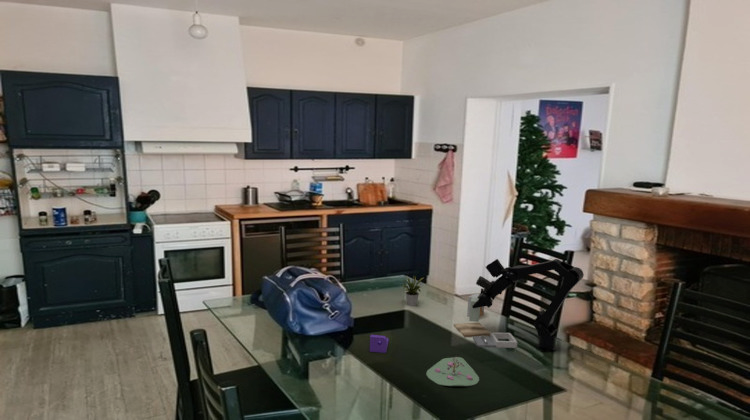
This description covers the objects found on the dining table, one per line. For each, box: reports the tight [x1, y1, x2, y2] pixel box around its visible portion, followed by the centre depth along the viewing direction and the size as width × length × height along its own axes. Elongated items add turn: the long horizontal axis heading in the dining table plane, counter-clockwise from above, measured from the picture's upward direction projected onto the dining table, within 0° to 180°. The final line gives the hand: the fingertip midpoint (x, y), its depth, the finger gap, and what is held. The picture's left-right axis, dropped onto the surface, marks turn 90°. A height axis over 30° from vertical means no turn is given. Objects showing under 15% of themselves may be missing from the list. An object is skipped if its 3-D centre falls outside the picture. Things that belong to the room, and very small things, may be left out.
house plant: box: [401, 275, 424, 307], centre depth 261 cm, size 14×14×16 cm
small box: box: [466, 292, 485, 318], centre depth 249 cm, size 8×6×10 cm
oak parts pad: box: [453, 322, 491, 338], centre depth 231 cm, size 13×13×1 cm
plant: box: [425, 355, 480, 387], centre depth 191 cm, size 25×21×9 cm
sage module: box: [469, 298, 480, 323], centre depth 229 cm, size 4×5×10 cm
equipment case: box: [472, 332, 518, 349], centre depth 218 cm, size 17×10×2 cm, turn 93°
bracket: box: [369, 334, 389, 354], centre depth 211 cm, size 12×7×7 cm, turn 173°
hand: (473, 305), depth 228 cm, fingers closed on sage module, 5 cm apart
